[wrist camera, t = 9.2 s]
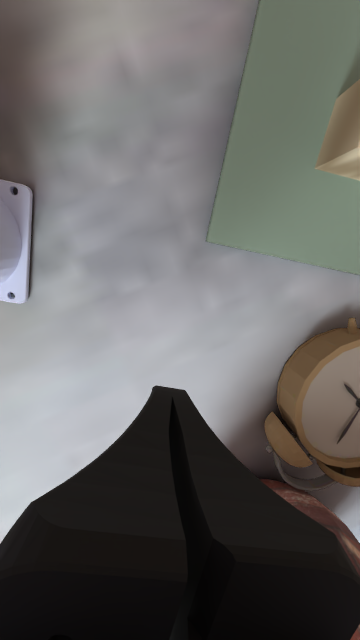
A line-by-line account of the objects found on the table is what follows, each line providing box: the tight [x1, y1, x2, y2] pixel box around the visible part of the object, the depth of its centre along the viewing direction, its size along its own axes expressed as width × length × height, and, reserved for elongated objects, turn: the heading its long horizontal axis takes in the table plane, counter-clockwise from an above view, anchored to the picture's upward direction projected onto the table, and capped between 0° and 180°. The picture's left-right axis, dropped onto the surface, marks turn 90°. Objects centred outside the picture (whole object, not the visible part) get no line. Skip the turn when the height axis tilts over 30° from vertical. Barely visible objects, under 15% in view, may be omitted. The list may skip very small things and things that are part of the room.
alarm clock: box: [264, 318, 360, 491], centre depth 22 cm, size 11×5×15 cm
